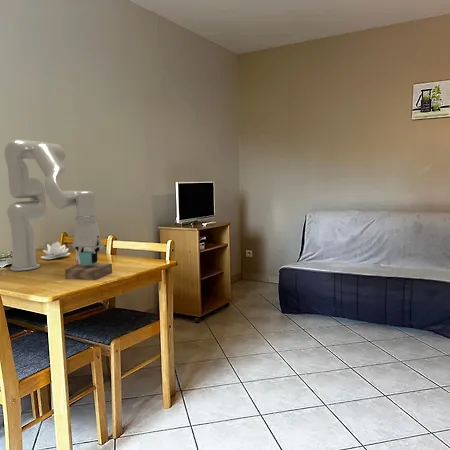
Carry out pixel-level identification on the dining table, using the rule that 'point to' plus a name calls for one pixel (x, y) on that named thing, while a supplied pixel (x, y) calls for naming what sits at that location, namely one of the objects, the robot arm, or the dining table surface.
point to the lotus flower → (55, 251)
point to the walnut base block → (88, 271)
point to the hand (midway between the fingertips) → (88, 261)
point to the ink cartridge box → (79, 256)
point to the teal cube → (86, 258)
